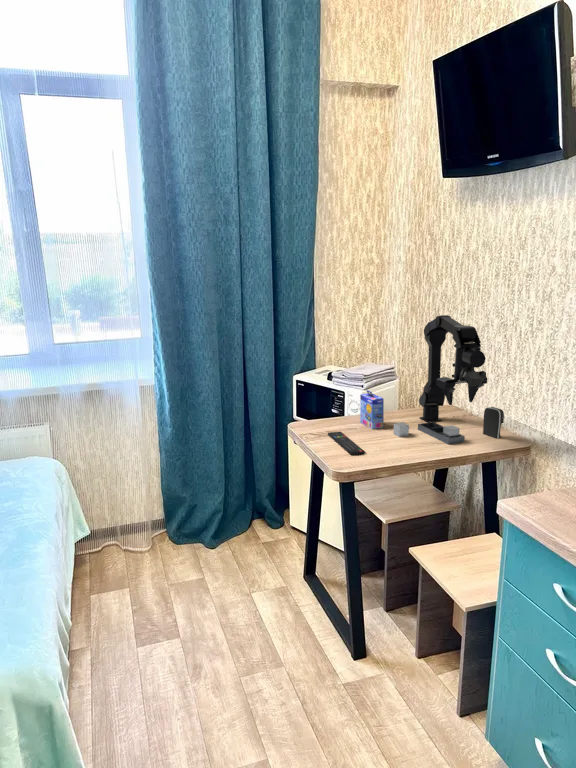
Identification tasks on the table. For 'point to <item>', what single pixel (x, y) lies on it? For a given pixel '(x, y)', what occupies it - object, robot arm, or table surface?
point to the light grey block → (451, 431)
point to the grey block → (401, 429)
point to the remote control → (346, 443)
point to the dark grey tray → (439, 433)
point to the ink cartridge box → (371, 410)
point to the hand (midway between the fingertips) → (460, 403)
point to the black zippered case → (493, 421)
